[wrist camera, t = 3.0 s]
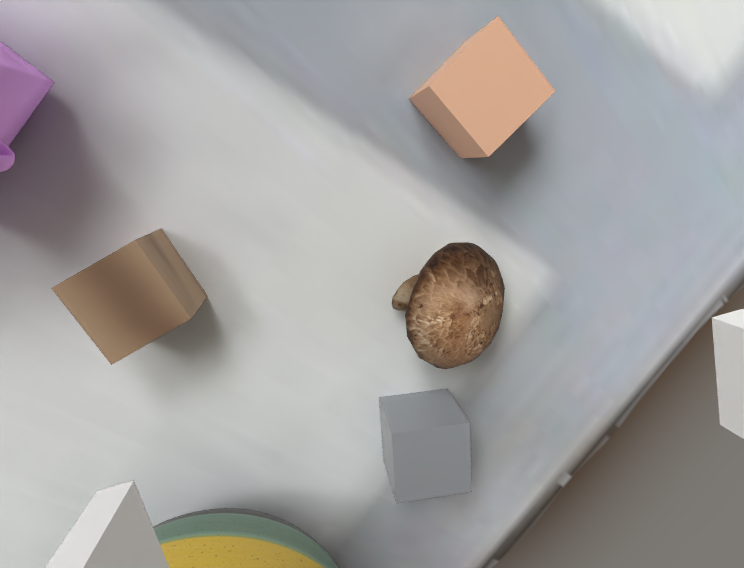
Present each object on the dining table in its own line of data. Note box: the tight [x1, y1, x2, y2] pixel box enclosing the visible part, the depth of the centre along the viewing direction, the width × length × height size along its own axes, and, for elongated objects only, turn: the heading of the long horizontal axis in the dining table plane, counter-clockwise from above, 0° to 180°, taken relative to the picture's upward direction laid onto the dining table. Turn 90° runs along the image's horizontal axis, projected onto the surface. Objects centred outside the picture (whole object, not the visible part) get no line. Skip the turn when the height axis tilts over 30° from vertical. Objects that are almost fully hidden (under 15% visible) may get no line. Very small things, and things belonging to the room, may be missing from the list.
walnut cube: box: [52, 229, 207, 365], centre depth 29 cm, size 5×5×5 cm
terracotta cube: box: [409, 16, 555, 158], centre depth 29 cm, size 5×5×5 cm
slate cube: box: [379, 389, 471, 504], centre depth 34 cm, size 5×5×5 cm
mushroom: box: [392, 242, 505, 369], centre depth 32 cm, size 8×8×6 cm
